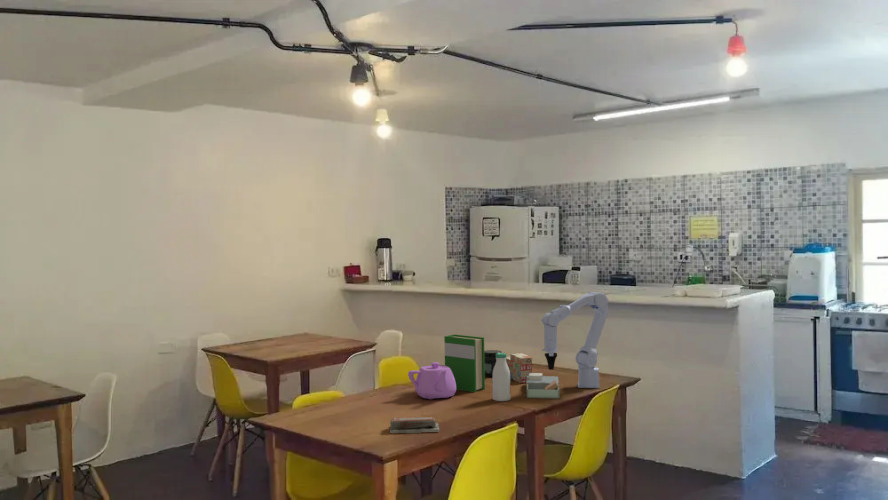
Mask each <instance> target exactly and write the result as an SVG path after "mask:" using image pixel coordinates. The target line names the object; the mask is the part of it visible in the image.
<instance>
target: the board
mask: <svg viewBox="0 0 888 500" xmlns="http://www.w3.org/2000/svg"><path fill="white" fill-rule="evenodd" d="M555 380H556V381H557V383H558V385H559V386H560V380H559V376H551V375H548V376H547V375H542V380H529V376H527V382H526V383H525V384H526V387H527V384H528V389H532V390H545V388H544V387H545V386H547V385H548V384H550V383H552V382H553V381H555ZM554 390H557V388H555V389H554Z"/></svg>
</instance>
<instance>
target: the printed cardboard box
mask: <svg viewBox="0 0 888 500" xmlns="http://www.w3.org/2000/svg"><path fill="white" fill-rule="evenodd" d="M509 355H510V356H506V363H507V365H508V367H509V370H510V380H513V381H515V382H517V383H518V384H519V383H520V384H526V382H527V376H529V373H533V357H532V356H530V355H527V354H524V353H521V352H519V353H510V354H509Z"/></svg>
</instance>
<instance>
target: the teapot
mask: <svg viewBox="0 0 888 500" xmlns="http://www.w3.org/2000/svg"><path fill="white" fill-rule="evenodd" d="M430 364H431V365H425V366H420V368H419V370H414V369H413V370H409V371H408V373H407V375H408V378H409V380H410V381H411V383H412V384H413V385H414V387H415V389H414V390H415V391H416V393H417V395H418V396H419V397H420V398H423V399H427V400H434V399H442V398H443V399H449V397H453V396H454V395H455V394H456V392H457V389H456V382H455V378H454V376H453V373H452V371H451V369H450V368H449V367H448V366H445V364H444V365H443V364H440V362H438V361H434V362H431V363H430ZM416 374H417V375H416ZM414 375H416V378H415V377H414Z"/></svg>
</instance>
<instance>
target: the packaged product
mask: <svg viewBox="0 0 888 500" xmlns="http://www.w3.org/2000/svg"><path fill="white" fill-rule="evenodd" d="M389 432H390V433H407V434H422V433H421V432H438V433H439V432H440V426H439V423H438V422H437V421H436V418H435V417H431V416H428V417H427V416H423V417H422V416H419V417H417V416H412V417H410V416H408V417H407V416H405V417H397V416H396V417H391V420H390V428H389ZM390 433H389V434H390Z"/></svg>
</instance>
